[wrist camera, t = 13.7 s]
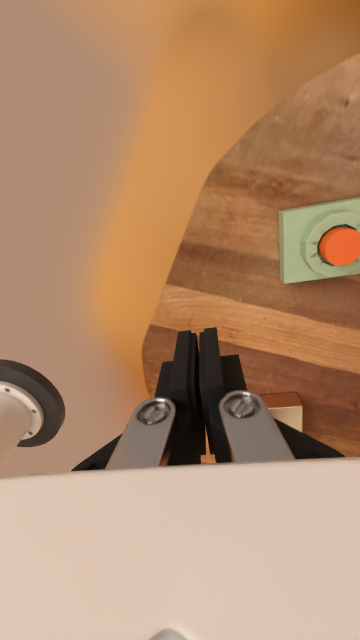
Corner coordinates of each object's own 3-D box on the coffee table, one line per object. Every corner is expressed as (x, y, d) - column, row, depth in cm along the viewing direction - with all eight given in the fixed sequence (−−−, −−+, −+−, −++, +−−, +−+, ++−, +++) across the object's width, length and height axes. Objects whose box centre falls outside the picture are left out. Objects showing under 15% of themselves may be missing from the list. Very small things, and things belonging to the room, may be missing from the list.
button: (318, 264, 30) (324, 268, 28) (319, 230, 28) (326, 232, 27) (354, 259, 29) (362, 263, 27) (357, 224, 28) (366, 226, 26)
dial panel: (222, 444, 47) (224, 460, 44) (216, 398, 43) (216, 412, 40) (296, 440, 45) (302, 456, 42) (296, 391, 41) (303, 406, 38)
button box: (279, 278, 34) (288, 289, 31) (278, 210, 31) (287, 213, 27) (366, 266, 33) (386, 276, 29) (374, 194, 29) (397, 194, 26)
